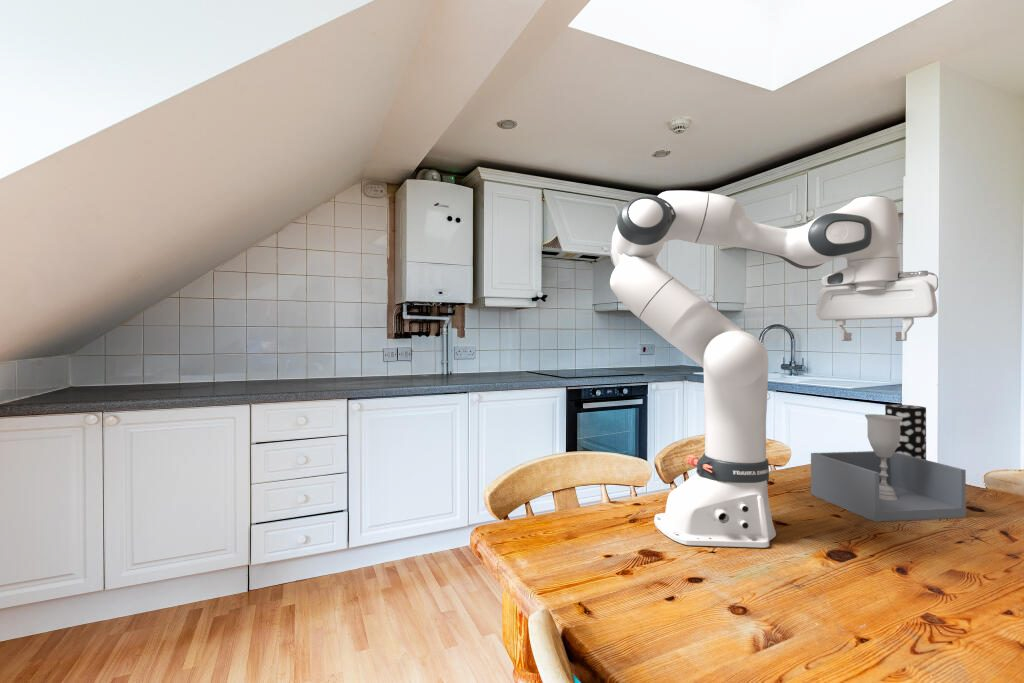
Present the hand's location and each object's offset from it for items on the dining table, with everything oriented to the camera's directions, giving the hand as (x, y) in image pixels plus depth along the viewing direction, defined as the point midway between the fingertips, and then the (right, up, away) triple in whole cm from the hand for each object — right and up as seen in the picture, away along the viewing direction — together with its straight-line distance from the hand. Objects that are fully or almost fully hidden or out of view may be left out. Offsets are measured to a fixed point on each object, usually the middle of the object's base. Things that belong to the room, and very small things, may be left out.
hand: (872, 341), depth 101 cm
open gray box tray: (+8, -37, +8) cm, 39 cm away
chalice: (+8, -35, +8) cm, 37 cm away
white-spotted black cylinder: (+27, -37, +25) cm, 53 cm away
